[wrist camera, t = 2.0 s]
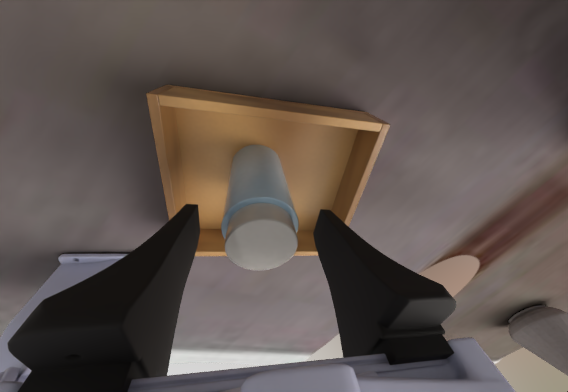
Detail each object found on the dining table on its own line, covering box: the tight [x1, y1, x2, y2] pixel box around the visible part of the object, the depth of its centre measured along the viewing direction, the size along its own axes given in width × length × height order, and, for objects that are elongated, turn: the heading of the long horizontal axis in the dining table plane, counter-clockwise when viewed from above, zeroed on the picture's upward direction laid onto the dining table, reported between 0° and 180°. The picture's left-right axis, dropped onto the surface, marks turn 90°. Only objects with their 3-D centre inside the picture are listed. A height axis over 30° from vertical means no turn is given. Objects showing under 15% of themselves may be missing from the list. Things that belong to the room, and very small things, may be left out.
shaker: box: [221, 145, 299, 270], centre depth 15 cm, size 4×4×9 cm
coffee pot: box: [508, 305, 568, 392], centre depth 40 cm, size 21×12×15 cm, turn 63°
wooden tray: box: [146, 85, 390, 256], centre depth 18 cm, size 15×13×4 cm
